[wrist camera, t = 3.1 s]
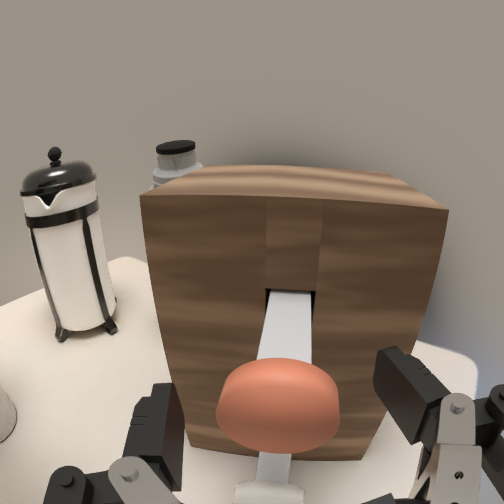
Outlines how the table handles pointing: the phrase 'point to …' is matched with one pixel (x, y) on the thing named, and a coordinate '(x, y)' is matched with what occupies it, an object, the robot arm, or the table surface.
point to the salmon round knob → (281, 386)
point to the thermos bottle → (174, 161)
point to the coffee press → (69, 244)
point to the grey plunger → (270, 483)
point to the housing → (288, 281)
